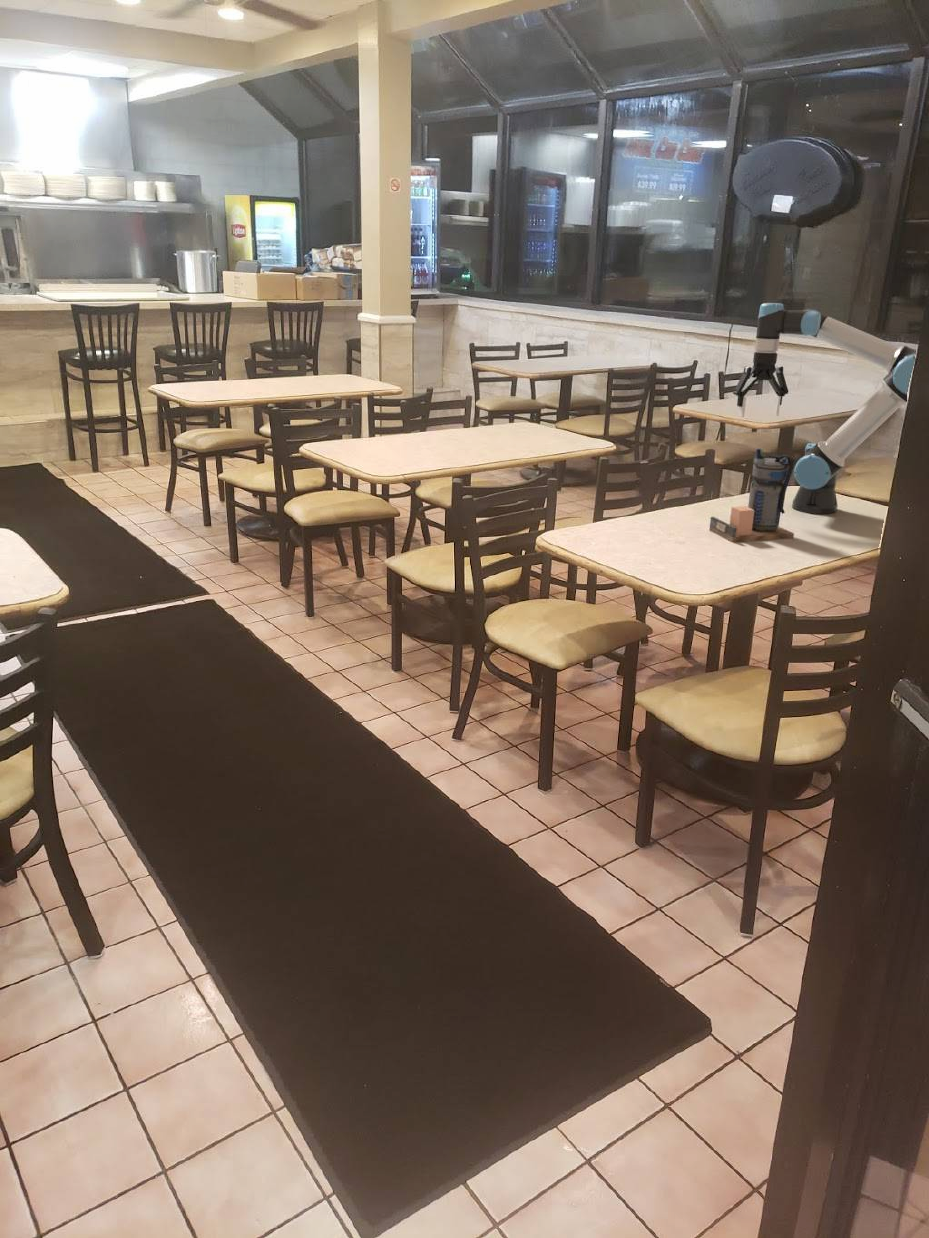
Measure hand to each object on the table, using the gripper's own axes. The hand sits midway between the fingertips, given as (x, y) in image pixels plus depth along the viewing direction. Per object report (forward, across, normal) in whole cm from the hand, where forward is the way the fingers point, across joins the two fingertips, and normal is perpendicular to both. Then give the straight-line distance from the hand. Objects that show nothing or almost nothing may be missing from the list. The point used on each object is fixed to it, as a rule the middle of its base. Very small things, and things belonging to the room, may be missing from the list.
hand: (758, 415), depth 326 cm
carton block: (+31, +24, +32) cm, 51 cm away
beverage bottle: (+31, +13, +30) cm, 45 cm away
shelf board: (+33, +18, +30) cm, 48 cm away
